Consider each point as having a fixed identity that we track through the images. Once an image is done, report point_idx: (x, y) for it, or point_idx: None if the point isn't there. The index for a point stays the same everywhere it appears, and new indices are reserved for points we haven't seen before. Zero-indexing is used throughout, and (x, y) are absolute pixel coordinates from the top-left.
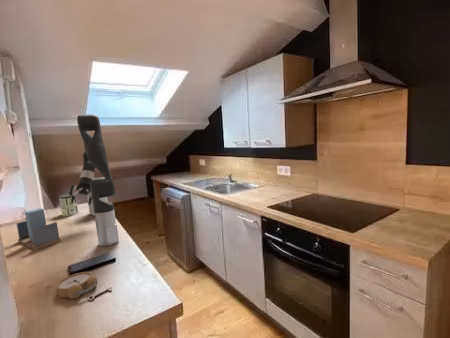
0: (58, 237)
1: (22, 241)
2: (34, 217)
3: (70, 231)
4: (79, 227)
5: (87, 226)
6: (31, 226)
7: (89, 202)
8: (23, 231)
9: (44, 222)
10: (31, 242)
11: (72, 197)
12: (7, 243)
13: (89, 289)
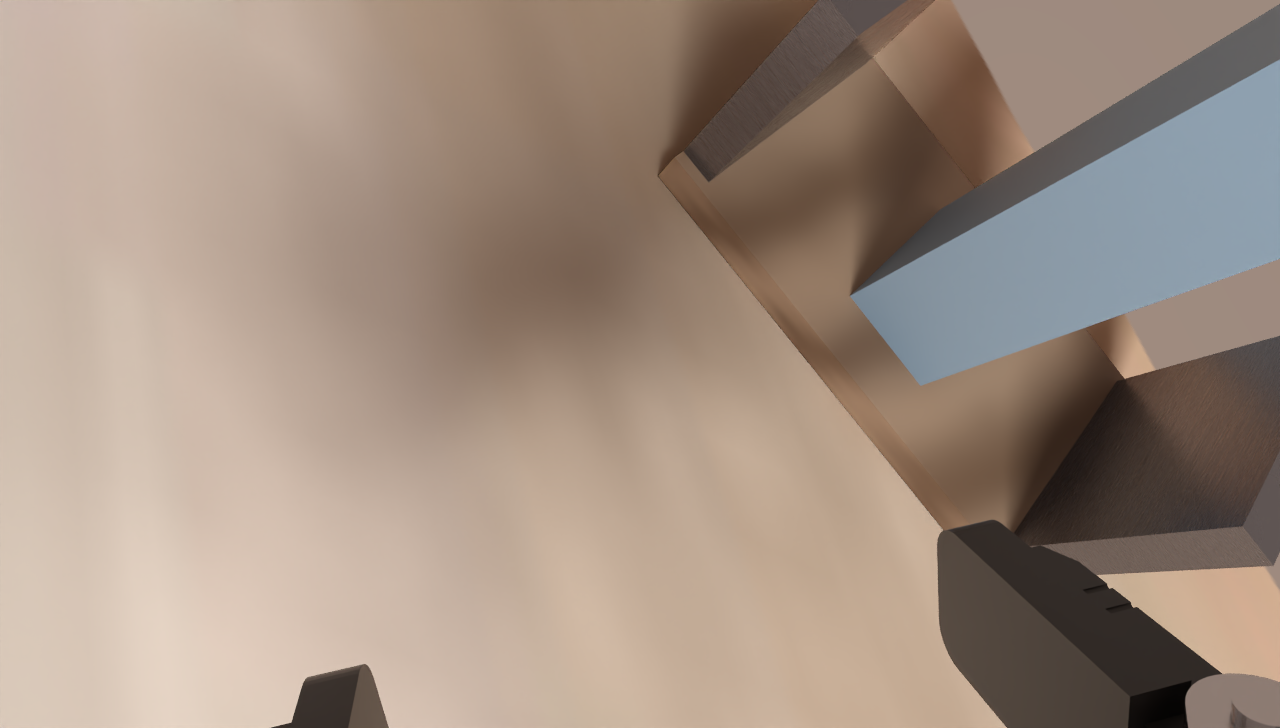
0: (698, 134)
1: None
2: (1218, 53)
3: (651, 530)
4: (553, 702)
5: (402, 707)
6: (1112, 107)
7: (301, 715)
8: (1183, 387)
9: (1036, 190)
10: None
11: (1155, 655)
12: None
13: None
